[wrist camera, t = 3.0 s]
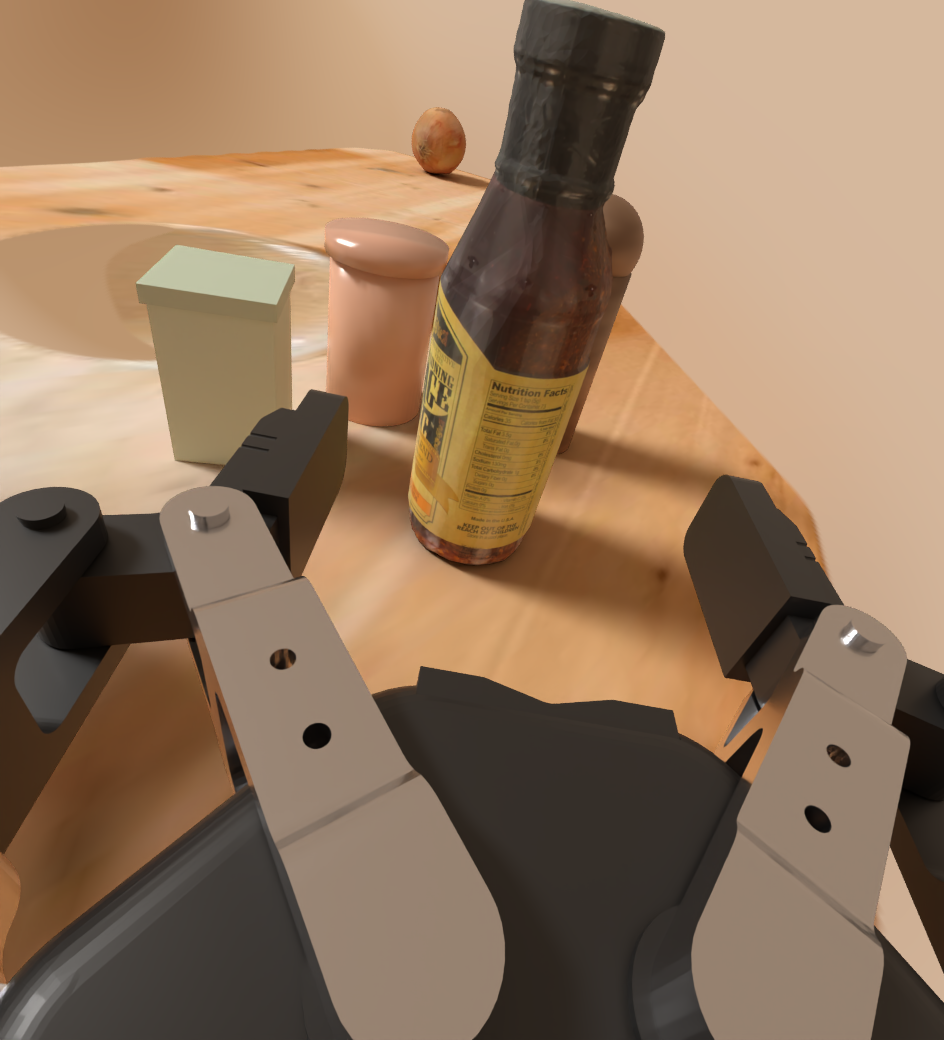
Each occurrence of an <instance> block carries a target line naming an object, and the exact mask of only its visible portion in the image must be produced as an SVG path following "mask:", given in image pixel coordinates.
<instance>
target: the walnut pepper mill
mask: <svg viewBox="0 0 944 1040" xmlns="http://www.w3.org/2000/svg"><path fill="white" fill-rule="evenodd" d="M603 214H604V219H605V227H606V232H607V241H608V244H609V246H610V247H611V248H612V275H613V282H612V289H611V296H610V299H609V302H608V306H607V310H606V312H605V314H604V315H603V318H602V321H601V324H600V326H599V330H598V332H597V335H596V337H595V340H594V344H593V347H592V349H591V352H590V355H589V357H590V363H589V367H588V369H587V372H586V375H585V378H584V380H583V383H582V386H581V389H580V391H579V394H578V397H577V400H576V402H575V405H574V408H573V411H572V413H571V416H570V419H569V422H568V424H567V427H566V430H565V433H564V435H563V438H562V441H561V444H560V446H559V449H558V452H557V454H560V453H563V452H565V451H566V450H567V449H568V447H569V445H570V442H571V439H572V437H573V434H574V431H575V428H576V426H577V423H578V420H579V417H580V415H581V412H582V409H583V406H584V404H585V401H586V398H587V395H588V393H589V390H590V387H591V384H592V382H593V379H594V376H595V373H596V371H597V368H598V365H599V362H600V360H601V357H602V354H603V351H604V349H605V346H606V343H607V340H608V338H609V335H610V332H611V329H612V327H613V324H614V321H615V319H616V316H617V313H618V310H619V308H620V305H621V302H622V299H623V297H624V294H625V291H626V288H627V285H628V283H629V280H630V277H631V272H632V270H633V269H634V268H635V266H636V264H637V262H638V260H639V258H640V255H641V252H642V247H643V239H644V234H643V227H642V223H641V220H640V217H639V216H638V213H637V212H636V210H635V209H634V208H633V206H632V205H630V203H629V202H627V201H626V200H625V199H623V198H621V197H619V196H617V195H613V194H612V195H611V197H610V198H609V199H608V201H606V202H605V204H604V206H603Z"/></svg>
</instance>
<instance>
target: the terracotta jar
mask: <svg viewBox="0 0 944 1040" xmlns="http://www.w3.org/2000/svg"><path fill="white" fill-rule="evenodd" d="M325 251H326V252H327V253H328V255H329V256H330V278H329V312H328V346H327V380H326V392H327V393H332V394H337V395H342V396H347V397H348V402H349V413H348V420H350V421H352V422H356V423H359V424H363V425H369V426H395V425H400V424H403V423H406V422H408V421H410V420H412V419H413V418H414V417H416V415H417V414H418V412H419V407H420V400H421V394H422V387H423V381H424V374H425V367H426V361H427V354H428V348H429V341H430V334H431V328H432V321H433V315H434V308H435V301H436V295H437V288H438V282H439V275H441V274H442V273H443V271H444V269H445V267H446V265H447V259H448V252H449V247H448V245H447V244H446V243H445V242H444V241H443V240H441V239H440V238H438V237H436V236H434V235H432V234H430V233H428V232H425V231H423V230H420V229H417V228H414V227H411V226H407V225H403V224H399V223H395V222H390V221H384V220H377V219H369V218H341V219H335V220H332V221H330V222H328V223H327V224H326V225H325Z"/></svg>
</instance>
